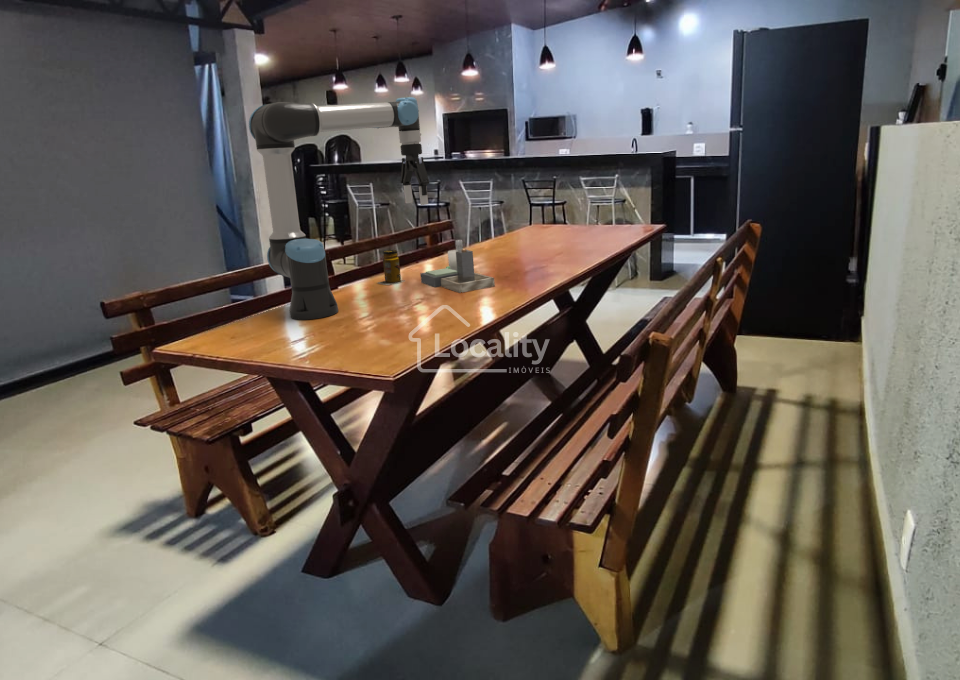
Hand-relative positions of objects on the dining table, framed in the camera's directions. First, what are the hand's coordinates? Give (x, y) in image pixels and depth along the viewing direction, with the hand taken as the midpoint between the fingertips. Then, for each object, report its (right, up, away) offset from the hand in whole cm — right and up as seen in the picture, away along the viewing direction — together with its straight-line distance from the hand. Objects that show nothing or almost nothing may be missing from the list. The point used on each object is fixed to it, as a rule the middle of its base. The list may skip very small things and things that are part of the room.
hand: (416, 204), depth 245 cm
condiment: (-11, -28, +11) cm, 32 cm away
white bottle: (+15, -24, +16) cm, 33 cm away
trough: (+19, -31, -7) cm, 37 cm away
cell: (+18, -30, -7) cm, 36 cm away
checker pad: (+9, -26, +3) cm, 28 cm away
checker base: (+9, -28, +3) cm, 30 cm away
